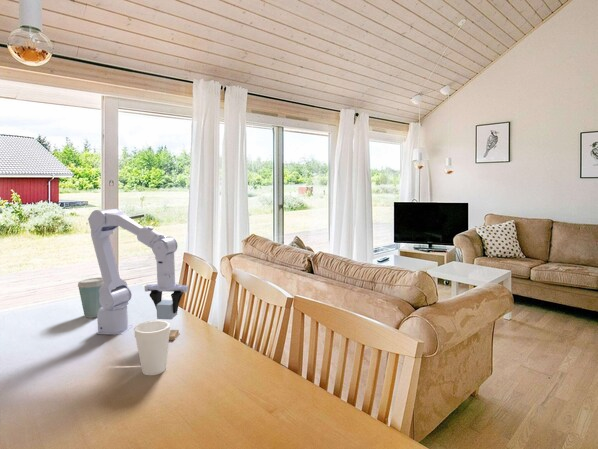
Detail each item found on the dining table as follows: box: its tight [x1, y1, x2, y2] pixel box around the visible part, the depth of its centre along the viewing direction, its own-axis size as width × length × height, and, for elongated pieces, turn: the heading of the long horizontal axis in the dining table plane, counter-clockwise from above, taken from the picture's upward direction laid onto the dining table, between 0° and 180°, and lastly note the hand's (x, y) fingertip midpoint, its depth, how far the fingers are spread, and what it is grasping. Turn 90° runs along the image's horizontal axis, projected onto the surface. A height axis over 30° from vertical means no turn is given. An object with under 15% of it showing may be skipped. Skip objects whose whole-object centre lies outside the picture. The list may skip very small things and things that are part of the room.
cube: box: [156, 299, 178, 320], centre depth 132 cm, size 5×5×5 cm
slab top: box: [169, 329, 180, 341], centre depth 133 cm, size 6×6×1 cm
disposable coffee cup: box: [77, 276, 104, 319], centre depth 155 cm, size 11×11×15 cm
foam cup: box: [133, 320, 171, 376], centre depth 110 cm, size 10×9×13 cm
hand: (167, 311), depth 132 cm, fingers closed on cube, 5 cm apart
